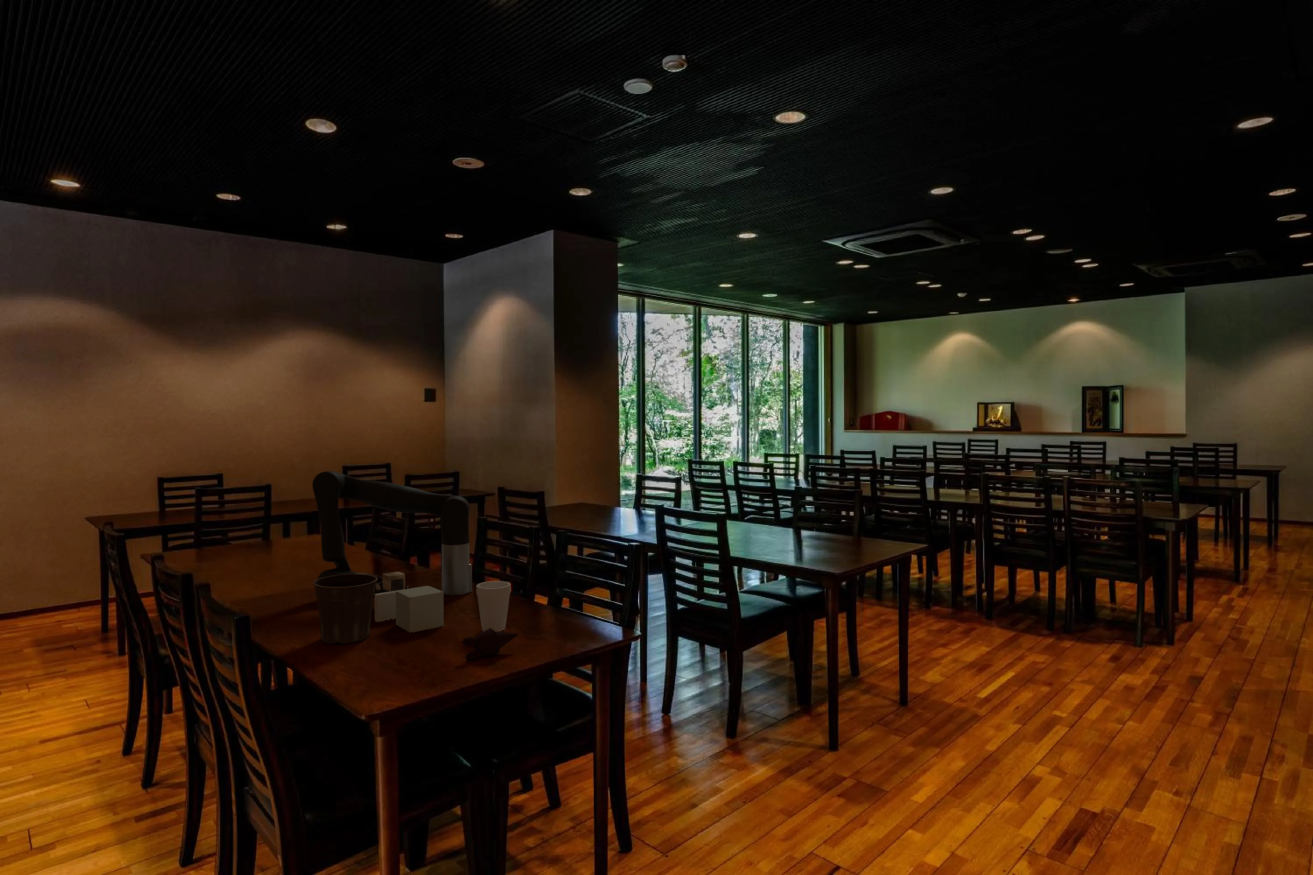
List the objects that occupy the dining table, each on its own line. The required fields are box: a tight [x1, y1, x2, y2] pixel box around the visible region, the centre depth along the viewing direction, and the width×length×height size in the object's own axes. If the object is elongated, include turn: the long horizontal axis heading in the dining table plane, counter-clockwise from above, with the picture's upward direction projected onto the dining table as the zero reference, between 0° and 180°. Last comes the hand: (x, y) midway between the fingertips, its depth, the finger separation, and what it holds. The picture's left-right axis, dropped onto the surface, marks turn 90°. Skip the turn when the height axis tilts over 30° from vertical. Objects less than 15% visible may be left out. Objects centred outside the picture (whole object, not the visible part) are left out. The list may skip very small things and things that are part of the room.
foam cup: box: [475, 580, 512, 632], centre depth 204 cm, size 10×9×13 cm
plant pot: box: [312, 573, 378, 645], centre depth 196 cm, size 16×16×16 cm
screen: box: [374, 585, 425, 623], centre depth 218 cm, size 16×2×8 cm, turn 132°
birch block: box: [382, 571, 406, 592], centre depth 222 cm, size 5×5×12 cm
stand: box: [395, 585, 445, 634], centre depth 208 cm, size 10×10×10 cm
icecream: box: [461, 628, 519, 661], centre depth 183 cm, size 7×7×15 cm
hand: (398, 592), depth 221 cm, fingers open, 6 cm apart
